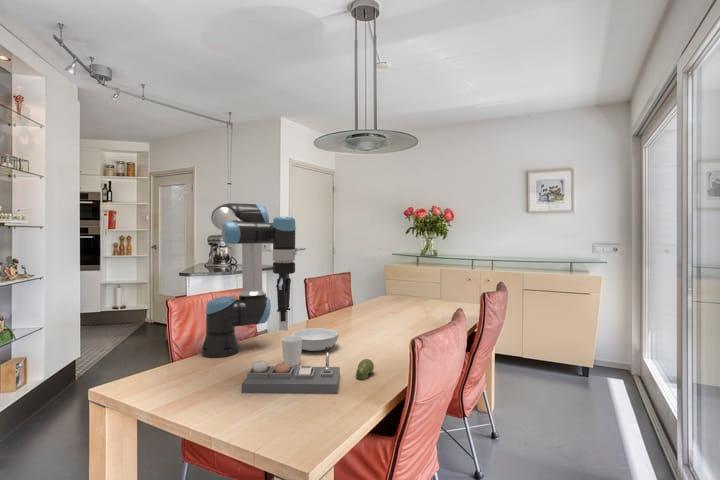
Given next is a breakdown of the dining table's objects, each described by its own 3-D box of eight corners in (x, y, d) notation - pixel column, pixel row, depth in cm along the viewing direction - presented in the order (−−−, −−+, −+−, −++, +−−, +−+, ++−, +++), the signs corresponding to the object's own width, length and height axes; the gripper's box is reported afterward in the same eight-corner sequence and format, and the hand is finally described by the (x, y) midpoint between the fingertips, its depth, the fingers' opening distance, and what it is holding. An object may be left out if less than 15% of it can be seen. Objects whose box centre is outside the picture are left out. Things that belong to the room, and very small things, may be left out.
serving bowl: (341, 342, 182) (341, 328, 182) (334, 357, 161) (334, 340, 161) (298, 340, 184) (298, 326, 184) (285, 354, 163) (285, 338, 163)
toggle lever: (323, 371, 133) (324, 346, 137) (330, 371, 133) (331, 346, 137) (323, 371, 131) (324, 345, 135) (330, 371, 131) (331, 345, 135)
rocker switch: (300, 368, 135) (300, 365, 135) (311, 368, 135) (311, 365, 135) (298, 376, 130) (298, 373, 130) (310, 376, 130) (310, 374, 130)
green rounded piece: (375, 357, 144) (366, 370, 135) (376, 370, 145) (367, 384, 136) (361, 355, 146) (351, 368, 137) (362, 368, 147) (352, 382, 138)
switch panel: (254, 374, 141) (254, 361, 140) (339, 375, 141) (339, 362, 141) (241, 392, 125) (241, 378, 124) (337, 393, 125) (337, 379, 125)
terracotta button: (276, 370, 135) (276, 363, 135) (290, 370, 135) (290, 363, 135) (273, 376, 130) (273, 368, 130) (288, 376, 130) (288, 368, 130)
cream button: (255, 367, 135) (255, 360, 135) (269, 367, 135) (269, 360, 135) (251, 372, 130) (251, 365, 130) (265, 373, 130) (265, 365, 130)
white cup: (297, 367, 148) (298, 341, 148) (278, 365, 150) (278, 340, 149) (304, 360, 156) (304, 336, 156) (286, 359, 157) (286, 335, 157)
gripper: (291, 263, 125) (291, 335, 126) (298, 260, 138) (297, 325, 139) (268, 263, 125) (268, 334, 126) (277, 260, 138) (276, 325, 139)
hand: (283, 329), depth 132 cm, fingers closed
